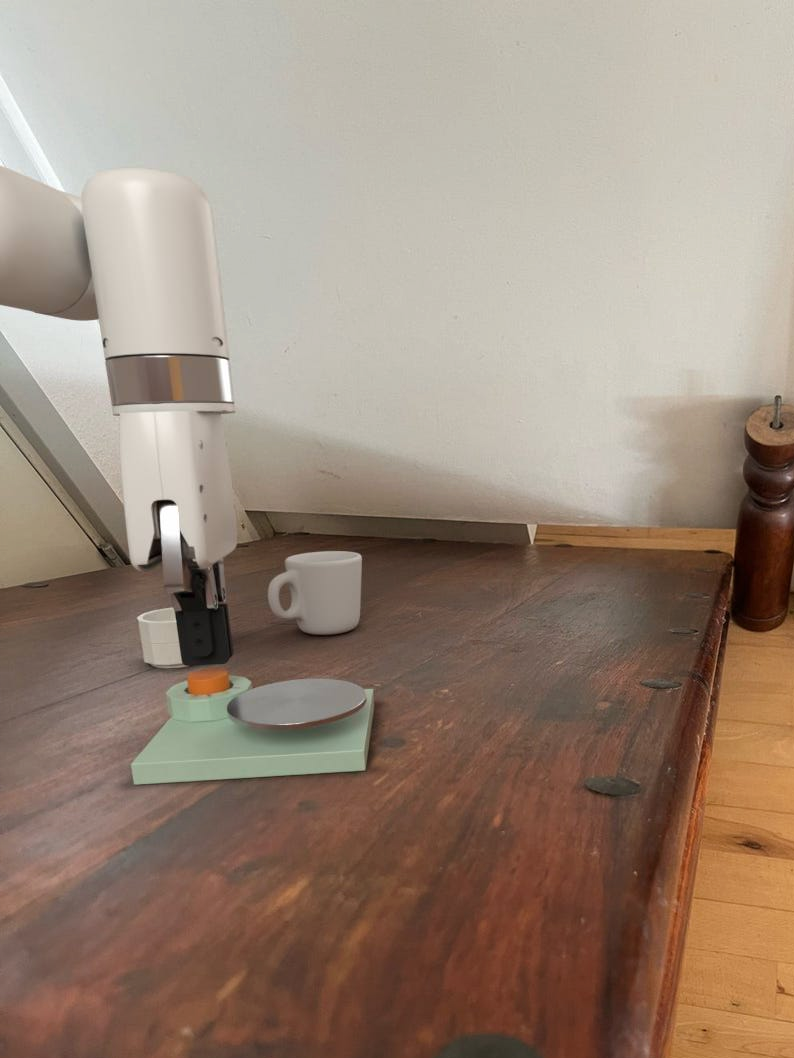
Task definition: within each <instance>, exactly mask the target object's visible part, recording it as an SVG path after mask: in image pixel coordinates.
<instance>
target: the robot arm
mask: <svg viewBox="0 0 794 1058" xmlns="http://www.w3.org/2000/svg"><path fill="white" fill-rule="evenodd" d="M220 269H221V268H220V262H219V251H218V244H217V235H216V225H215V219H214V212H213V207H212V204H211V202H210V200H209V198H208V196H207V193H206V192H205V190H203V188H202V187H201V186H200V185H199V184H197V183H196V182H195V181H193V180H192V179H191V178H188V177H186V176H183V175H181V174H178V173H175V172H171V171H169V170H163V169H160V168H159V169H158V168H153V167H139V166H138V167H137V166H124V167H113V168H109V169H105V170H101V171H98V172H96V173H95V174H93V175H92V176H90V177H89V178H88V179H87V180H86V182H85V184H84V185H83V188H82V191H81V196H78V195H74V194H71V193H68V192H65V191H62V190H59V189H56V188H55V187H52V186H50V185H48V184H45V183H43V182H41V181H39V180H36V179H34V178H32V177H29V176H26V175H24V174H22V173H20V172H17V171H15V170H13V169H10V168H8V167H6V166H3V165H0V306H2V307H9V308H13V309H18V310H23V311H27V312H28V311H29V312H32V313H35V314H39V315H44V316H47V317H54V318H59V319H62V320H63V319H64V320H71V321H80V322H82V321H83V322H87V321H88V322H89V321H96V320H97V321H98V324H99V329H100V330H99V331H100V336H101V343H102V351H103V356H104V361H105V362H104V363H105V371H106V376H107V383H108V389H109V396H110V403H111V404H110V405H111V406H112V407H111V410H112V416H115V417H116V416H118V417H119V419H118V420H119V421H118V422H119V423H118V443H119V444H118V448H119V450H118V451H119V452H118V453H119V467H120V480H121V490H122V501H123V511H124V521H125V528H126V539H127V548H128V555H129V561H130V564H131V566H132V567H133V568H134V569H135V570H137V571H138V572H140V573H147V572H151V571H152V570H154V569H157V568H158V567H160V566H162V578H163V589H164V591H165V592H166V594H167V593H168V594H170V598H171V599H170V600H171V603H172V607H173V608H174V611H175V617H176V625H177V632H178V639H179V646H180V653H181V660H182V663H183V664H184V665H186V666H188V667H195V666H211V665H212V666H214V665H224V664H227V663H228V662H229V661H230V659H231V658H232V657H233V655H234V647H233V639H232V630H231V622H230V614H229V606H228V603H226V602H227V588H226V587H227V586H226V578H225V565H224V564H225V561H224V560H225V559H224V558H225V557H227V556H228V555H230V554H231V553H232V552H233V551H234V550H236V548H237V545H238V523H237V513H236V503H235V496H234V488H233V487H234V486H233V482H232V474H231V467H230V460H229V455H228V447H227V445H228V444H227V440H226V436H225V431H224V424H223V419H222V415H227V414H235V413H236V405H235V396H234V395H235V394H234V386H233V377H232V368H231V367H232V366H231V361H230V352H229V343H228V342H229V341H228V333H227V324H226V316H225V315H226V314H225V307H224V306H225V305H224V297H223V287H222V279H221V271H220Z"/></svg>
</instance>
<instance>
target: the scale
mask: <svg viewBox="0 0 794 1058" xmlns="http://www.w3.org/2000/svg"><path fill="white" fill-rule="evenodd" d="M228 676H229V684H230V689H228V690H226V691H224V692H219V693H214V694H209V695H192V694H189V690H188V682H187V679H186V680H184V681H182V682H179V683H175V684H173V685H172V686H170V687H169V688H168V690H167V691H166V692H165V699H166V706H167V714H168V715H169V717H170V718H168V720H167V721H166V722H165V723H164V725H163V726H162V727H161V728H160V729H159V730H158V732H157V733H155V735H154V736H153V737H152V739H151V740H150V741H149V742H148V743H147V744H146V746H145V747H144V748H143V749H142V750H141V751H140V753H139V754H138V755H137V756H136V757H135V758H134V759H133V761H132V762H131V763H130V769H131V775H132V782H133V785H135V786H136V785H153V784H169V783H170V784H171V783H189V782H205V781H219V780H220V781H221V780H235V779H250V778H251V779H252V778H269V777H282V776H283V777H284V776H302V775H318V774H331V773H333V774H334V773H347V772H348V773H349V772H350V773H351V772H363V771H366V769H367V763H368V762H367V761H368V755H369V748H370V740H371V734H372V733H371V732H372V725H373V718H374V710H375V695H374V693H375V692H374V688H363V689H364V690H365V692H366V703H365V705H364V706H363V708H361V709H360V710H359V711H358V712H356V713H355V714H353V715H351V716H349V717H346V718H344V719H341V720H338V721H335V722H332V723H328V724H324V725H320V726H315V727H309V728H302V729H292V730H262V729H254V728H248V727H244V726H241V725H238V724H236V723H234V722H232V721H231V720H230V719H229V718H228V715H227V705H228V703H229V702H230V701H231V700H232V699H233V698H235V697H236V696H238V695H240V694H242V693H244V692H246V691H248V690H251V689H253V683H252V681H251V680H250V679H248V678H247V677H245V676H238V675H232V674H228Z"/></svg>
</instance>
